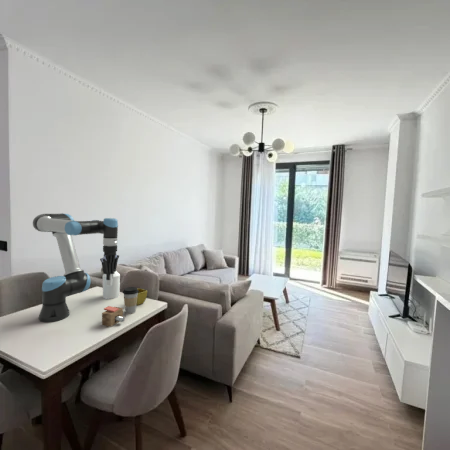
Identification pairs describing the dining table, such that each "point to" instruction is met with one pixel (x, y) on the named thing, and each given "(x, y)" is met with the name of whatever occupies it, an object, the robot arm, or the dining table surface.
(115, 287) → the bottle
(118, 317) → the pin
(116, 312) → the block
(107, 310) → the block
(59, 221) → the robot arm
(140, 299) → the flower pot
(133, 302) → the coffee cup
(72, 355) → the dining table surface
